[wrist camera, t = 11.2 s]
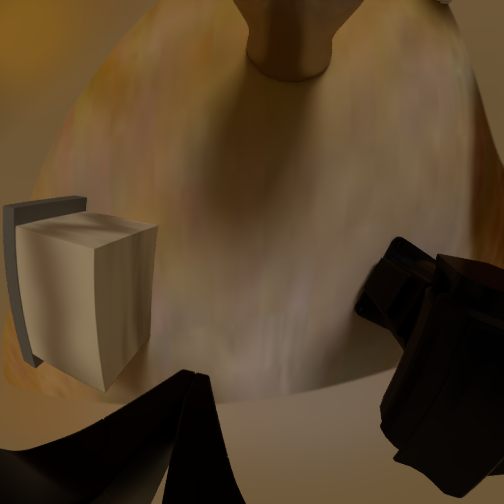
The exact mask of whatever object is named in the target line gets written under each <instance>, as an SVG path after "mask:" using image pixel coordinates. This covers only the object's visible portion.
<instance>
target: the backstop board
mask: <svg viewBox="0 0 504 504" xmlns="http://www.w3.org/2000/svg"><path fill="white" fill-rule="evenodd" d="M85 210H86V197H79V196H67V197H59V198H51V199H43V200H36V201H29V202H23V203H16V204H10V205H5V206H3V243H4V258H5V269H6V278H7V286H8V293H9V299H10V305H11V310H12V315H13V320H14V324H15V329H16V333H17V337H18V341H19V345H20V348H21V352H22V355H23V358H24V361H25V362H27V363H28V364H30V365H31V366H33V367H34V368H37V367H38V366H39V365H40V364H41V363H42V362H44V360H42V359H40V358H39V357H37V356H35V355H34V354H33V353H32V349H31V345H30V341H29V337H28V333H27V328H26V323H25V318H24V313H23V307H22V301H21V295H20V287H19V279H18V269H17V255H16V226H18V225H22V224H27V223H31V222H35V221H40V220H44V219H49V218H54V217H58V216H63V215H68V214H73V213H79V212H84V211H85Z"/></svg>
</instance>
